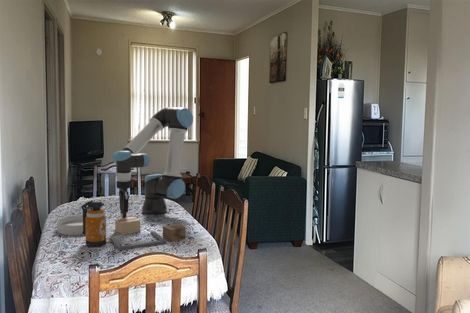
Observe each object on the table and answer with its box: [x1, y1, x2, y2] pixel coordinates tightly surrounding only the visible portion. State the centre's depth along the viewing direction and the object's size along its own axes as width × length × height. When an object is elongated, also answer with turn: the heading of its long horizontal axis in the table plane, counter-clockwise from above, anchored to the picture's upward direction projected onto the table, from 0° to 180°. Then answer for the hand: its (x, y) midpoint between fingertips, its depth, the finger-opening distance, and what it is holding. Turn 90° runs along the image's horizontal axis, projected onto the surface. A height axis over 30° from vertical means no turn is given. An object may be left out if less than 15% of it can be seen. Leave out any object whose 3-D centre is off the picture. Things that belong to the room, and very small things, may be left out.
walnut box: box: [162, 223, 187, 243], centre depth 196 cm, size 8×8×6 cm
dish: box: [56, 214, 83, 236], centre depth 209 cm, size 22×22×5 cm
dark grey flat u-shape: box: [109, 230, 167, 251], centre depth 191 cm, size 22×18×1 cm
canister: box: [80, 200, 107, 247], centre depth 185 cm, size 9×11×20 cm
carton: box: [114, 216, 141, 235], centre depth 207 cm, size 10×8×6 cm
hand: (123, 224), depth 213 cm, fingers closed
